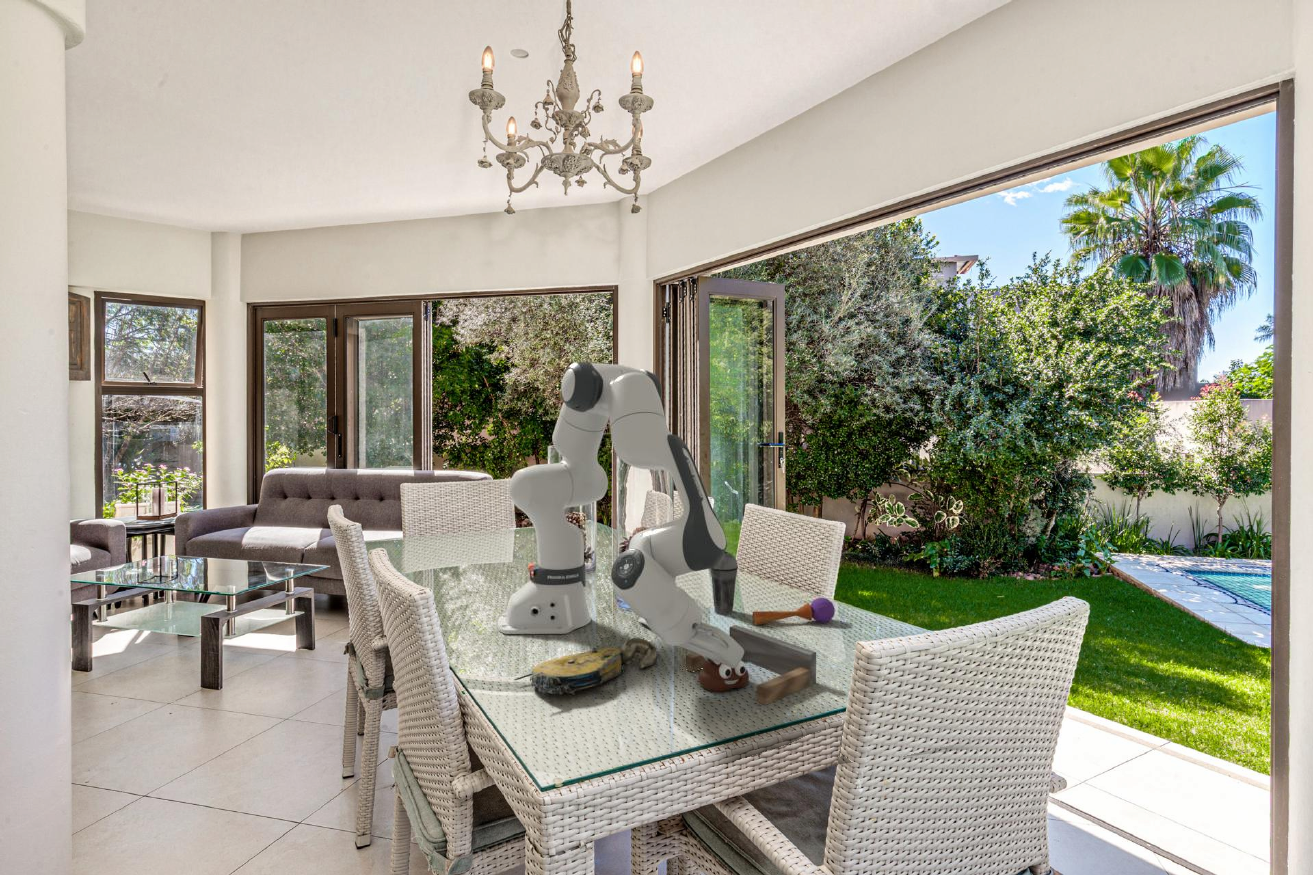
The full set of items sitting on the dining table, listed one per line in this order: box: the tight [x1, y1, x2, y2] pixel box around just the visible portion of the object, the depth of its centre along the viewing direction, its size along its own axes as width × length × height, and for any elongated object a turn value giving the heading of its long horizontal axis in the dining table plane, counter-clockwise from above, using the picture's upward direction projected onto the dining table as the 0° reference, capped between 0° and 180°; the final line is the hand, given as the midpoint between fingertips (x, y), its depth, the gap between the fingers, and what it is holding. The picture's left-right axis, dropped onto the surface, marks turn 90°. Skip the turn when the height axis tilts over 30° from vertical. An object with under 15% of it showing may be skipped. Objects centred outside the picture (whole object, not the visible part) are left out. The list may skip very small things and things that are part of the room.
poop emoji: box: [698, 659, 750, 692], centre depth 132 cm, size 10×8×9 cm
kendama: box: [752, 597, 836, 626], centre depth 168 cm, size 6×6×20 cm
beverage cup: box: [709, 551, 739, 616], centre depth 176 cm, size 7×7×20 cm
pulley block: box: [513, 637, 660, 696], centre depth 136 cm, size 14×6×30 cm
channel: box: [685, 624, 817, 706], centre depth 136 cm, size 15×21×6 cm
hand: (715, 659), depth 130 cm, fingers closed
